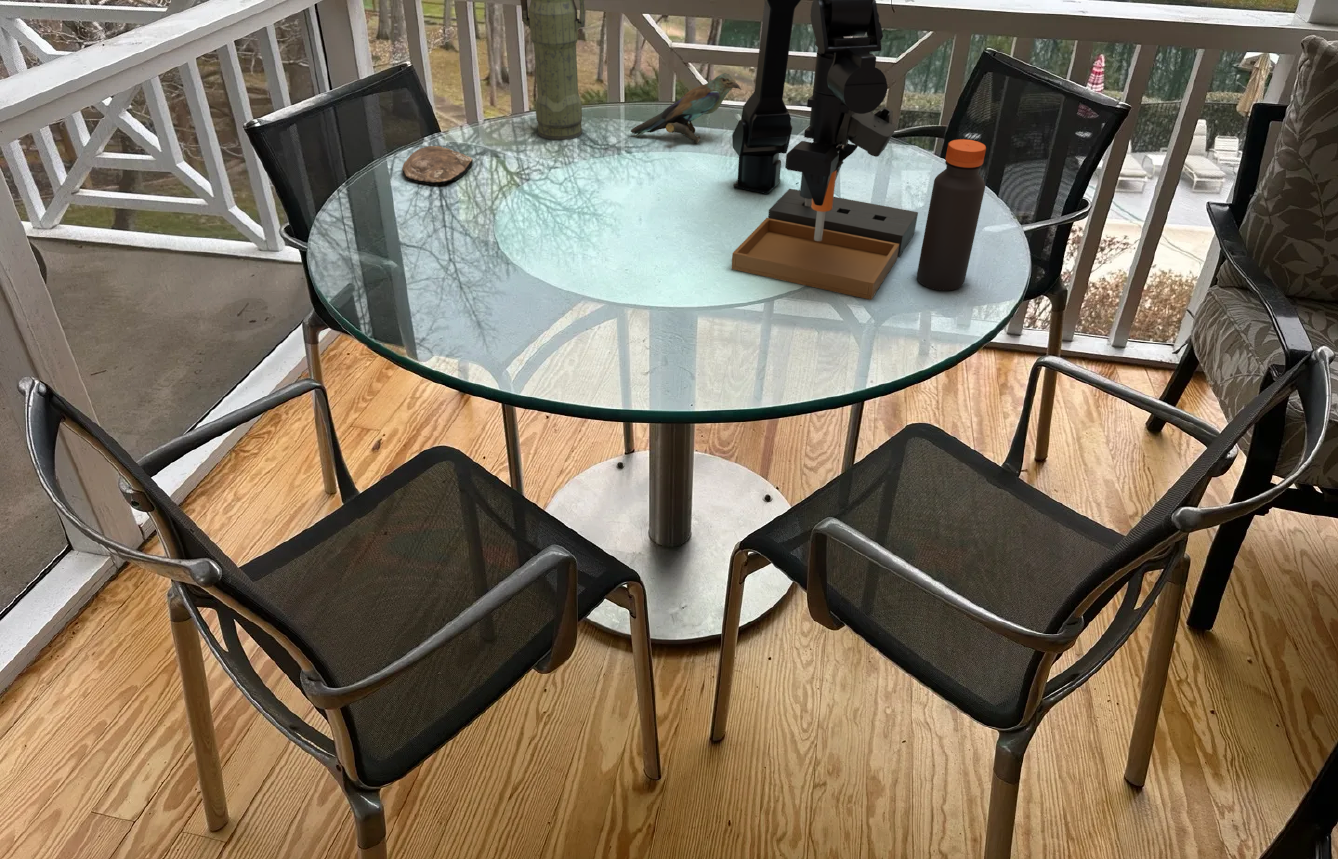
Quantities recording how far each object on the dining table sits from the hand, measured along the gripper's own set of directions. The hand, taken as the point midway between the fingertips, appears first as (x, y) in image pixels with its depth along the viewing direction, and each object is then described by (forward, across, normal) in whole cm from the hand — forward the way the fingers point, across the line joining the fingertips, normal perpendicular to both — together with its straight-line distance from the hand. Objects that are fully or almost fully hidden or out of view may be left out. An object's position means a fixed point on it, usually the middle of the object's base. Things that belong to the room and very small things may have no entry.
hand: (822, 200), depth 134 cm
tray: (+10, 0, 0) cm, 10 cm away
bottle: (+10, +3, -18) cm, 21 cm away
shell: (+10, +5, +73) cm, 74 cm away
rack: (+10, +13, 0) cm, 16 cm away
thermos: (+10, +33, +64) cm, 73 cm away
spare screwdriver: (+10, +13, +6) cm, 17 cm away
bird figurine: (+10, +40, +40) cm, 57 cm away
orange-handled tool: (+6, 0, 0) cm, 6 cm away
